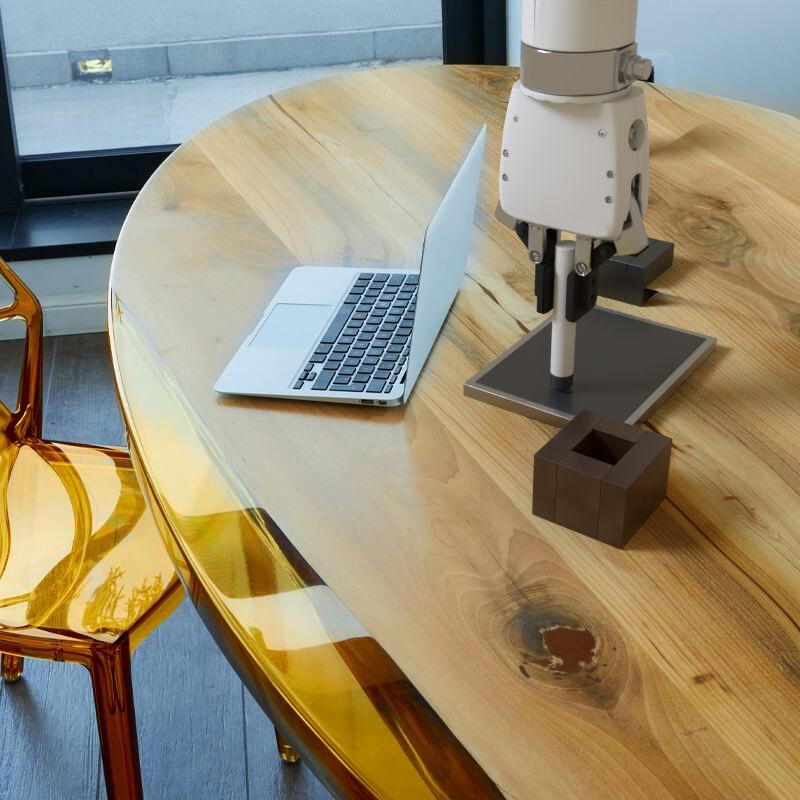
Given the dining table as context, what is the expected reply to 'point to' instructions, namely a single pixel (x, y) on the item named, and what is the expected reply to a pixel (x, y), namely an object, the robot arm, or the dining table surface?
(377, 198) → the dining table surface
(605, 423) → the pen stand
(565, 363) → the stylus
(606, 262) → the stylus holder
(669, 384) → the tablet
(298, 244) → the dining table surface
